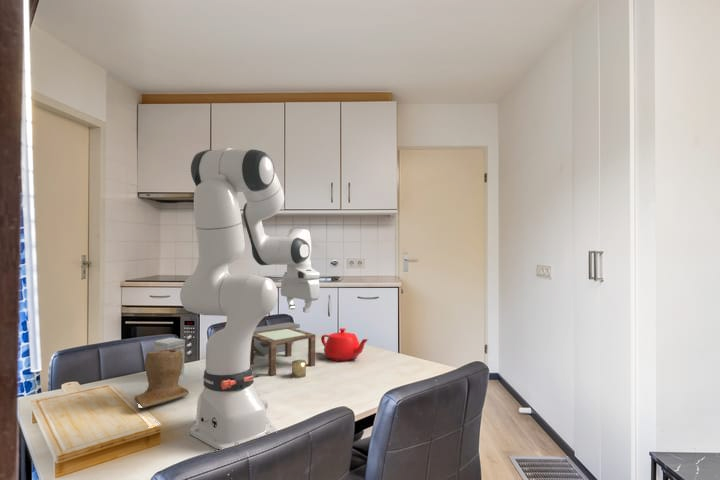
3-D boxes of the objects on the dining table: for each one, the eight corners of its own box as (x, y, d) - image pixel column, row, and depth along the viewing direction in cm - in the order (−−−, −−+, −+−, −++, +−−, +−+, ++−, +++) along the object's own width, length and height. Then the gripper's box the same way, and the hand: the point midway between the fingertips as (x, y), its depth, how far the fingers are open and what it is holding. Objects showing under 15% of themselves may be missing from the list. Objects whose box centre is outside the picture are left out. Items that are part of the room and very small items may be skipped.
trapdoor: (305, 337, 152) (305, 334, 152) (274, 342, 142) (274, 339, 142) (287, 331, 162) (287, 328, 162) (256, 336, 153) (256, 333, 153)
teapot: (309, 357, 163) (309, 328, 163) (332, 349, 176) (333, 322, 176) (357, 367, 148) (357, 336, 149) (378, 358, 161) (378, 329, 161)
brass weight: (308, 376, 138) (308, 362, 139) (296, 379, 135) (296, 364, 135) (300, 372, 142) (300, 359, 142) (289, 375, 139) (289, 361, 139)
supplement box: (152, 376, 137) (153, 340, 137) (171, 370, 143) (172, 336, 144) (166, 380, 133) (167, 343, 134) (184, 373, 140) (185, 339, 140)
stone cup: (175, 389, 125) (175, 342, 125) (194, 397, 117) (195, 348, 118) (123, 403, 113) (125, 352, 113) (141, 414, 106) (142, 359, 106)
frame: (315, 365, 151) (315, 334, 151) (271, 375, 138) (271, 342, 138) (289, 355, 166) (289, 327, 166) (246, 363, 153) (247, 333, 153)
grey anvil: (289, 345, 183) (290, 322, 183) (299, 348, 178) (299, 324, 178) (241, 355, 165) (241, 329, 166) (250, 358, 160) (250, 332, 160)
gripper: (276, 271, 145) (276, 308, 145) (308, 274, 130) (307, 315, 130) (290, 271, 150) (290, 306, 149) (322, 273, 135) (322, 313, 134)
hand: (298, 310), depth 140 cm, fingers open, 8 cm apart
